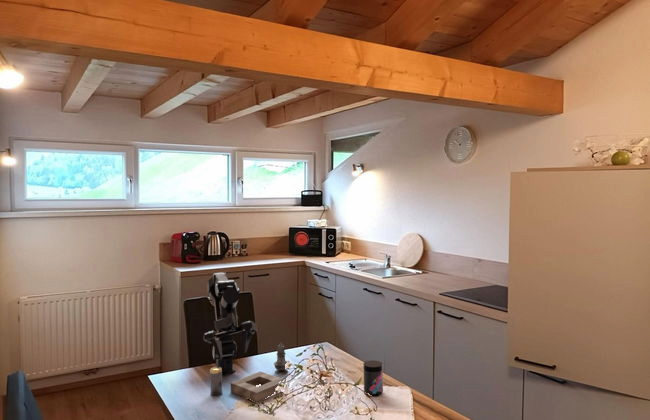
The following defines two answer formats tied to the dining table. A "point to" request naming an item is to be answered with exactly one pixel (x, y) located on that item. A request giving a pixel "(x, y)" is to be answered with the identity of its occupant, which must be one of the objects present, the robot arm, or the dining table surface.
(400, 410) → the dining table surface
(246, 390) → the holder block
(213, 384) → the battery cell
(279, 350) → the weathered candle holder
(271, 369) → the dining table surface
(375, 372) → the supplement container
